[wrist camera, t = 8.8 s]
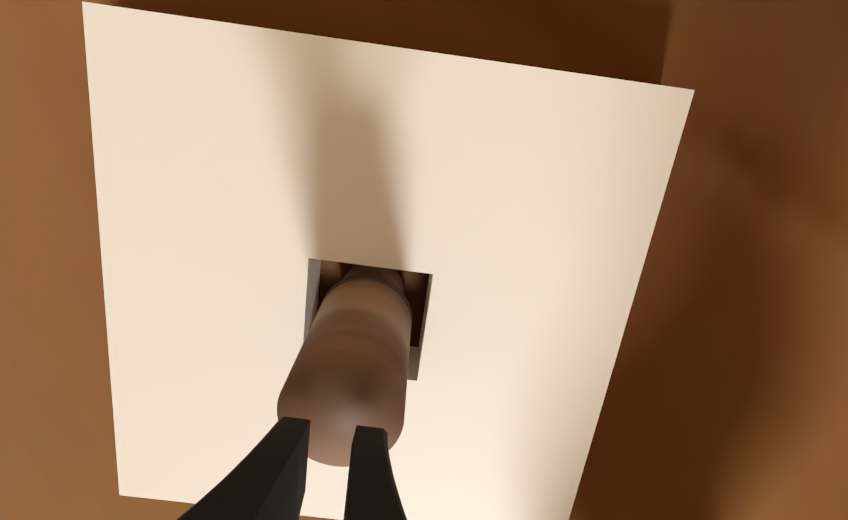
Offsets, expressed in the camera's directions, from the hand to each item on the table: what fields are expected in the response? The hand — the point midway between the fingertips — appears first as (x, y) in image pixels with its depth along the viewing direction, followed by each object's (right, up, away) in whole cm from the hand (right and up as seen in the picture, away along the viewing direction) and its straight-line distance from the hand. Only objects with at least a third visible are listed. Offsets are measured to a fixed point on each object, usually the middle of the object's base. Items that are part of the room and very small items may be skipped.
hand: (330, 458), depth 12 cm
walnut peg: (0, +3, +9) cm, 9 cm away
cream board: (0, +3, +9) cm, 9 cm away
